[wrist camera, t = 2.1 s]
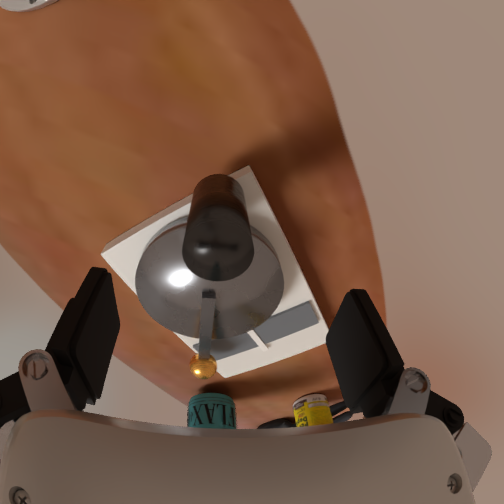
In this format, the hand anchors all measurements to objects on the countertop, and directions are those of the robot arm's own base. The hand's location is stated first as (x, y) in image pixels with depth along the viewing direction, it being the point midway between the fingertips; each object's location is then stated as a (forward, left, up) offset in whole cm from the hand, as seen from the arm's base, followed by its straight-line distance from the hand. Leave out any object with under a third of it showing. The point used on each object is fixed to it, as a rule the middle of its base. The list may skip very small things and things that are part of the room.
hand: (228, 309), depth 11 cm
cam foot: (+6, 0, -10) cm, 12 cm away
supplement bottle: (+32, +17, -12) cm, 38 cm away
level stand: (+10, +2, -11) cm, 15 cm away
